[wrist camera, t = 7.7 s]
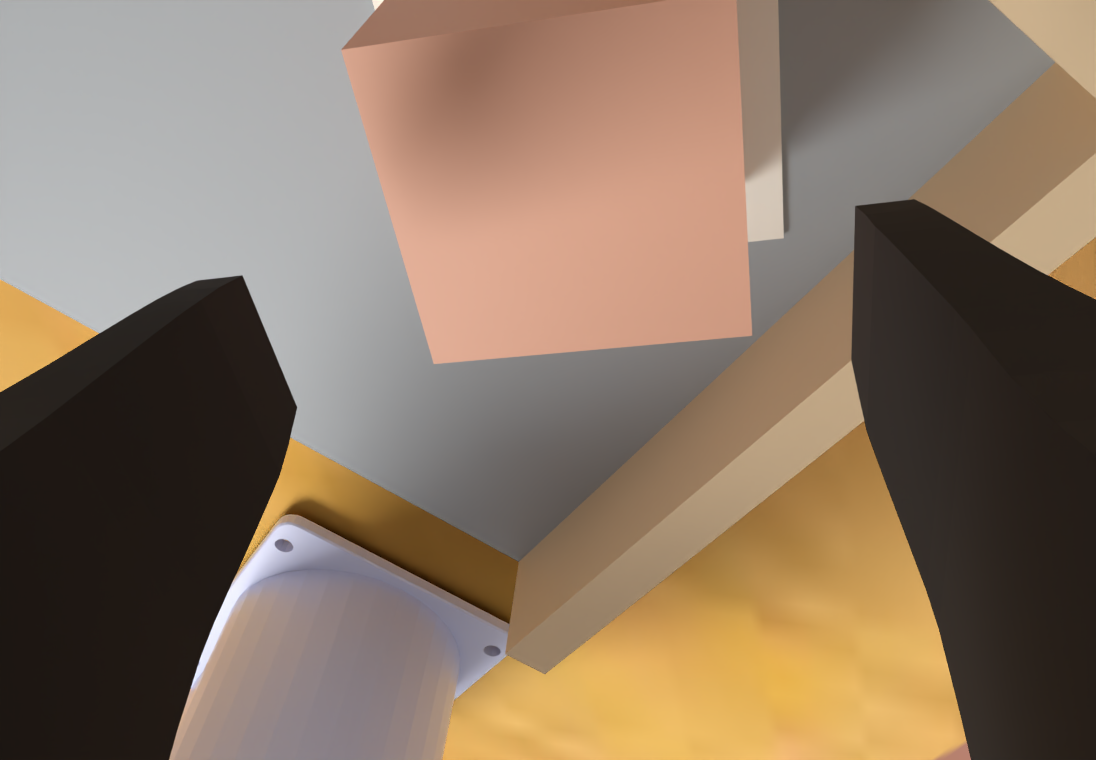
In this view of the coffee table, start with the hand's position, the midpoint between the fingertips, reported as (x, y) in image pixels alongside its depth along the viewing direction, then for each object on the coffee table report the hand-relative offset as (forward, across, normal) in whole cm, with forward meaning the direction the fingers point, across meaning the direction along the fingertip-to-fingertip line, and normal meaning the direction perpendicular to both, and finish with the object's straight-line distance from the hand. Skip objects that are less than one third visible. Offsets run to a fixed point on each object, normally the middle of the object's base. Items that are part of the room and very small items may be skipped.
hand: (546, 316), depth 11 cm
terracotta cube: (+8, 0, 0) cm, 8 cm away
